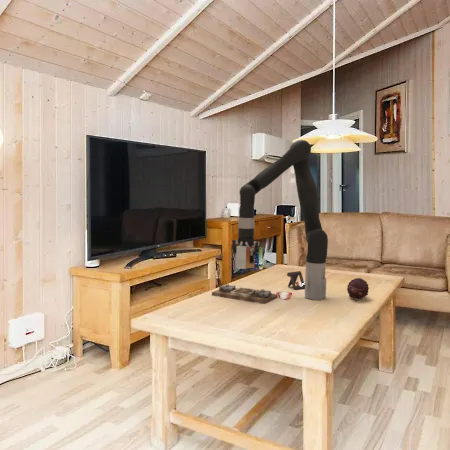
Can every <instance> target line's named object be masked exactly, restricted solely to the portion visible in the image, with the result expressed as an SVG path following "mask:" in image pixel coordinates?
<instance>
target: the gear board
mask: <svg viewBox="0 0 450 450" xmlns="http://www.w3.org/2000/svg"><path fill="white" fill-rule="evenodd" d="M211 295H212V296H214V297H219V298H225V299H233V300H239V301H244V302H245V301H246V302H250V303H256V304H262V305H263V304H264V305H265V304H268V303H270V302H271V301H272V302H273V301H274V300H275V299H277V298H278V294H277V293H272V291H271V290H265V289H256V288H249V287H242V286H241V287H239V288H237V287H236V285H230V283H229V284H228V283H226V284H225V285H222V284H221V285H219V287H218V289H216V290H214V291H211Z"/></svg>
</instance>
